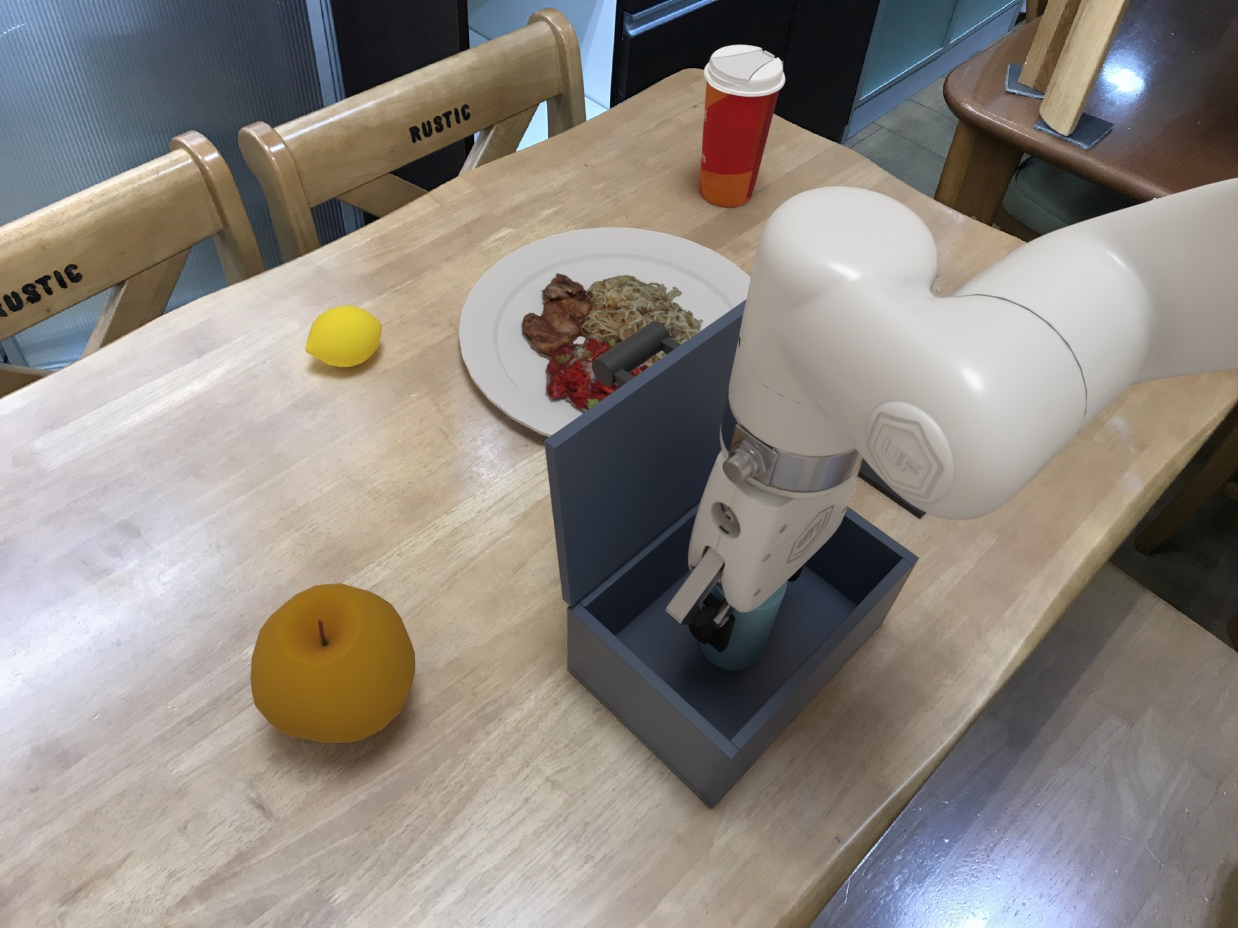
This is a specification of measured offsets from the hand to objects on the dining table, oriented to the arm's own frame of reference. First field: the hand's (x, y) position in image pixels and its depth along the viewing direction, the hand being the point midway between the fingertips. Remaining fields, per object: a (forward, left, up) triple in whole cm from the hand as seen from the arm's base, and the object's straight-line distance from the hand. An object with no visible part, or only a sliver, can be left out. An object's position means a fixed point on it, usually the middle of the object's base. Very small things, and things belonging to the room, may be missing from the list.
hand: (743, 599), depth 59 cm
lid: (+7, 0, +10) cm, 12 cm away
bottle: (0, 0, -6) cm, 6 cm away
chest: (0, 0, -7) cm, 7 cm away
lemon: (+43, +3, -7) cm, 44 cm away
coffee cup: (+37, -43, -7) cm, 57 cm away
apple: (+15, +22, -7) cm, 27 cm away
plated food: (+28, -17, -7) cm, 33 cm away
